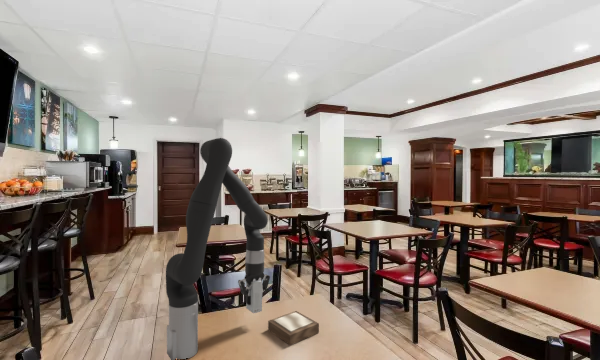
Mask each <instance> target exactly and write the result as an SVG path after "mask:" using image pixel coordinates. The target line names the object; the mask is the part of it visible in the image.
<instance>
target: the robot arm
mask: <svg viewBox="0 0 600 360" xmlns="http://www.w3.org/2000/svg"><path fill="white" fill-rule="evenodd" d="M199 152H200V157H201V159H202V160H203V161H204V162H205V164H206V166H205V169H204V172H203V174H202V177H201V179H200V180H199V182H198V183H197V185H196V187H195V188H194V190H193V192H192V193H191V195H190V198H189V201H188V206H187V209H186V214H185V225H186V227H185V228H186V234H187V235H186V243H185V248H184V250H183V253H176V254H174V255H173V256H171V257H170V258H169V260H168V262H167V264H166V267H165V289H166V290H165V291H166V297H167V299H168V325H167V326H166V354H167V355H168V357H169V358H170V360H175V359H176V358H177V359H185V360H187V359H186V358H188V359H190V358H193V357H194V356H196V354H197V353H198V350H199V324H198V323H199V320H198V319H199V295H198V291H197V290H196V288H195V286H194V284H195V283H196V282H198V281H199V279H200V277H201V275H202V273H203V268H204V263H205V255H206V250H207V246H208V245H207V244H208V239H209V236H210V232H211V227H212V223H213V219H214V216H215V213H216V209H217V205H218V200H219V196H220V194H221V189H222V185H223V186H224V188H225V189H226V191H227V192H228V194H229V195H230V196H231V198H232V201H233V202H234V203H235V205H236V207H237V208H238V209H239V210H240V211H241V212H242V213H244V214H245V215H244V217H243V227H244V233H245V236H246V247H245V249H246V250H245V251H246V252H245V263H244V265H245V266H244V267H245V268H244V270H245V271H244V272H245V275H244V277H243V279H238V282H237V284H238V287H239V289H240V293H241V294H242V295H243V296H245V303H247V304H248V305H251V296H250V295H251V290H252V283H251V282H255V281H256V280H258V281H262V294H263V293H264V292H265V291H267V290H268V287H269V282H270V278H271V276H270V275H268V274H265V237H264V236H263V235H262V233H261V230H263V229H265V228H266V227H267V225H268V222H269V220H268V216H267V213H266V211H264V209H263V208H262V206H260V204H259V203H257V201H256V200H255V198H254V196H253V195H252V193H251V191H250V190H249V188H248V186H247V185H246V184H245V183H244V182H243V180H242V179H241V178H239V176H237V175H236V173H235V171H233V170H232V169H231V167H230V166H229V165H230V162H231V159H232V156H233V147H232V143H230V141H229V140H228V139H226V138H224V137H218V138H213V139H210V140H206V141H205V142H203V143H202V145H200V150H199ZM246 282H247V285H246ZM248 285H249V286H250V287H248Z"/></svg>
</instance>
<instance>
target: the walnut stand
mask: <svg viewBox="0 0 600 360" xmlns="http://www.w3.org/2000/svg"><path fill="white" fill-rule="evenodd" d="M267 325H268V326H267V331H269V332H270V333H272V334H273V335H275V336H276V337H277V338H279V339H280V340H282V341H283V342H284V343H286V344H287V345H289V346H292V345H294V344H296V343H298V342H301V341H304V340H305V339H308V338H310V337H312V336H315V335H317V334H319V333H320V324H319V322H317V321H315V320H313V319H311V318H309V317H308V316H306V315H305V314H303V313H301V312H299V311H297V310H295V311H292V312H290V313H287V314H284V315H280V316H277V317H275V318H273V319H269V320H267Z"/></svg>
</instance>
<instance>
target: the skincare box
mask: <svg viewBox="0 0 600 360" xmlns="http://www.w3.org/2000/svg"><path fill="white" fill-rule="evenodd" d="M251 283H252V290H251V295H250V296H251V305H248V304H247V303H246V302H245V303H246V304H245V307H246V310H248V311H250V312H251V313H253V314H257V313H261V312H262V311H263V293H262V283H263V280H262V281H258V280H256V281H255V282H251ZM246 285H247V282H245V286H246ZM248 287H250V286H249V285H248Z"/></svg>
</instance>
